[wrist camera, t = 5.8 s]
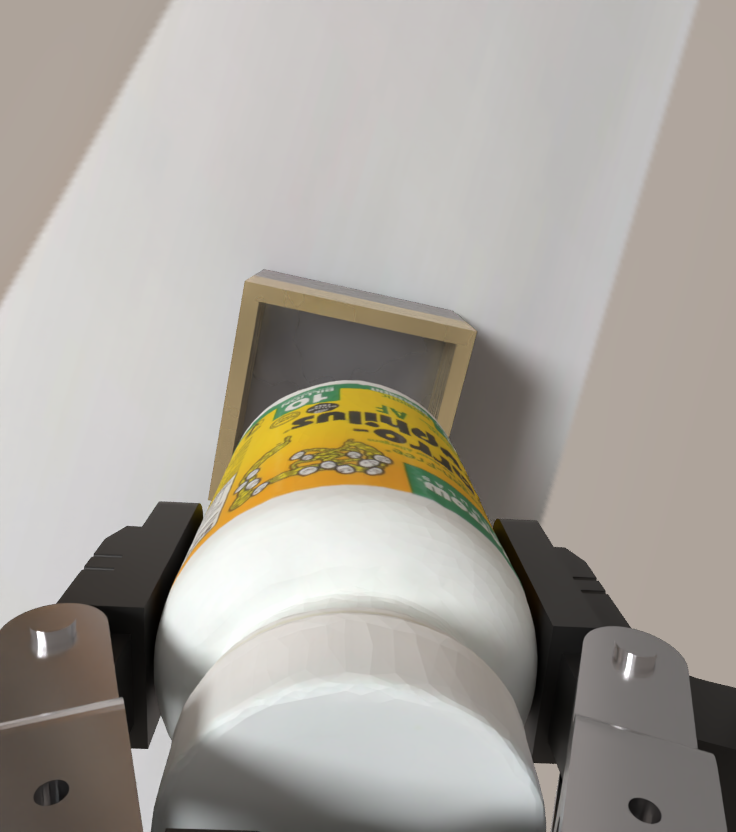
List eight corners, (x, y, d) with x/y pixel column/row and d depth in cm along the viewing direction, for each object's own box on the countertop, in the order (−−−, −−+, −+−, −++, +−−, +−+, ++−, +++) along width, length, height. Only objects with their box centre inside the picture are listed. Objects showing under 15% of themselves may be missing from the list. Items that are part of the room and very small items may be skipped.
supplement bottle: (201, 544, 16) (8, 972, 7) (277, 338, 15) (160, 532, 6) (408, 615, 17) (479, 1088, 8) (498, 423, 16) (714, 720, 6)
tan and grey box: (371, 630, 29) (376, 709, 24) (205, 601, 28) (178, 676, 23) (452, 310, 25) (476, 331, 20) (263, 268, 24) (245, 281, 20)
